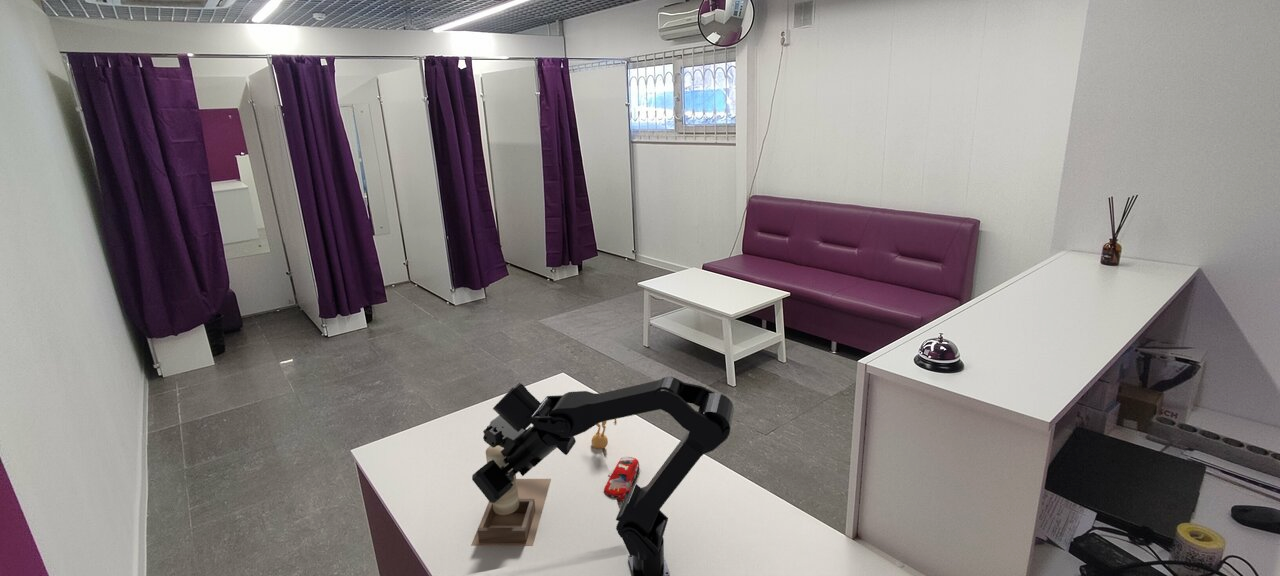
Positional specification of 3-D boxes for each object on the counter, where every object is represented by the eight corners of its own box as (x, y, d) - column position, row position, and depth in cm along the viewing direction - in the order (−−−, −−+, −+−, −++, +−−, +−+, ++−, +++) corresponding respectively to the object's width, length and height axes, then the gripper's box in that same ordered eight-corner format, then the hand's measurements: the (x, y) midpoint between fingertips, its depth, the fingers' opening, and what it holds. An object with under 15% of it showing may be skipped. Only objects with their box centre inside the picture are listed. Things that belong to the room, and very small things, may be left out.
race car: (624, 506, 124) (623, 490, 122) (600, 501, 125) (599, 486, 124) (643, 468, 136) (642, 454, 134) (621, 464, 137) (620, 450, 136)
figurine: (581, 447, 144) (578, 405, 140) (595, 435, 148) (593, 393, 144) (609, 457, 140) (607, 413, 136) (623, 444, 144) (621, 402, 140)
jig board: (533, 550, 112) (531, 532, 111) (471, 550, 113) (469, 532, 111) (551, 483, 131) (550, 467, 130) (498, 483, 132) (496, 467, 130)
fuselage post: (519, 512, 113) (512, 455, 109) (493, 516, 112) (485, 459, 108) (518, 495, 118) (512, 440, 114) (493, 500, 117) (485, 444, 113)
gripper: (541, 385, 114) (503, 421, 122) (473, 434, 98) (435, 471, 107) (577, 429, 113) (536, 463, 121) (514, 486, 97) (473, 520, 106)
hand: (497, 477), depth 114 cm, fingers closed on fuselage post, 5 cm apart
